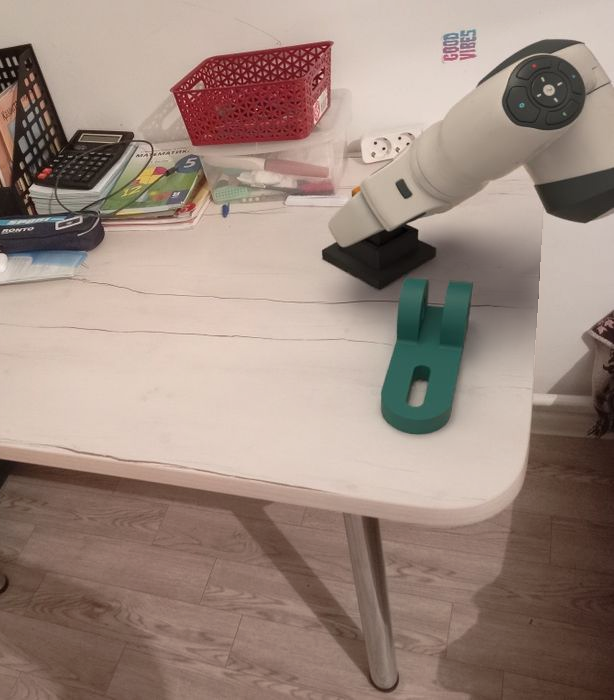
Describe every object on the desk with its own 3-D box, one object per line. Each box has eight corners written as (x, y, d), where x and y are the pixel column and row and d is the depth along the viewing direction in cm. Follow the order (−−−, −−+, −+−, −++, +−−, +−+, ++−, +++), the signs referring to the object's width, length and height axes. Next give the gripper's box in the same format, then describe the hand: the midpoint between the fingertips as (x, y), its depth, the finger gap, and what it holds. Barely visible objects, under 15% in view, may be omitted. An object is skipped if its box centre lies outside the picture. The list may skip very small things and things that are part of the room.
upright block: (402, 248, 84) (404, 188, 78) (379, 261, 83) (379, 202, 77) (375, 235, 88) (374, 177, 82) (353, 247, 87) (351, 190, 81)
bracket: (407, 318, 76) (408, 265, 71) (468, 324, 73) (474, 270, 68) (374, 426, 65) (374, 374, 60) (445, 440, 62) (450, 385, 57)
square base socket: (435, 256, 83) (437, 228, 80) (378, 290, 81) (378, 262, 78) (375, 228, 91) (375, 201, 88) (322, 258, 89) (320, 232, 86)
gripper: (489, 111, 72) (419, 166, 85) (353, 185, 67) (301, 230, 81) (519, 157, 71) (444, 205, 85) (383, 234, 67) (326, 271, 80)
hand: (373, 218), depth 83 cm, fingers open, 5 cm apart
